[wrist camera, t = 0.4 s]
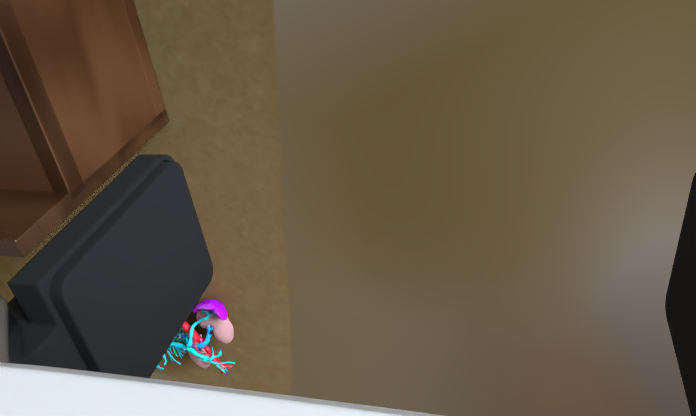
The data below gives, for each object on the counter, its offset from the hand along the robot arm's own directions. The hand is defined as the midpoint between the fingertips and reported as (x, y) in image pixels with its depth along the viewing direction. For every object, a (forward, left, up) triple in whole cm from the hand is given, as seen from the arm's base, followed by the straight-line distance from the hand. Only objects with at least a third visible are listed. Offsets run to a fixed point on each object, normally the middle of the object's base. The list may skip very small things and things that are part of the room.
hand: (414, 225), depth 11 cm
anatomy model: (+28, -22, -22) cm, 41 cm away
